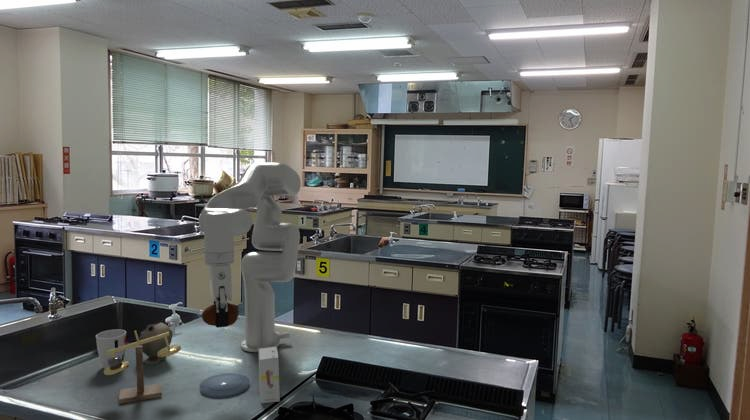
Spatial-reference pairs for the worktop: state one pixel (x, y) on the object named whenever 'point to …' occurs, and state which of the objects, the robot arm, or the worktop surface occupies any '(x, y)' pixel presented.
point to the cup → (110, 344)
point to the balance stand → (140, 384)
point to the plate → (224, 385)
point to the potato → (209, 312)
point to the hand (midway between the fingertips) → (220, 322)
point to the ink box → (269, 375)
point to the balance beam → (116, 362)
